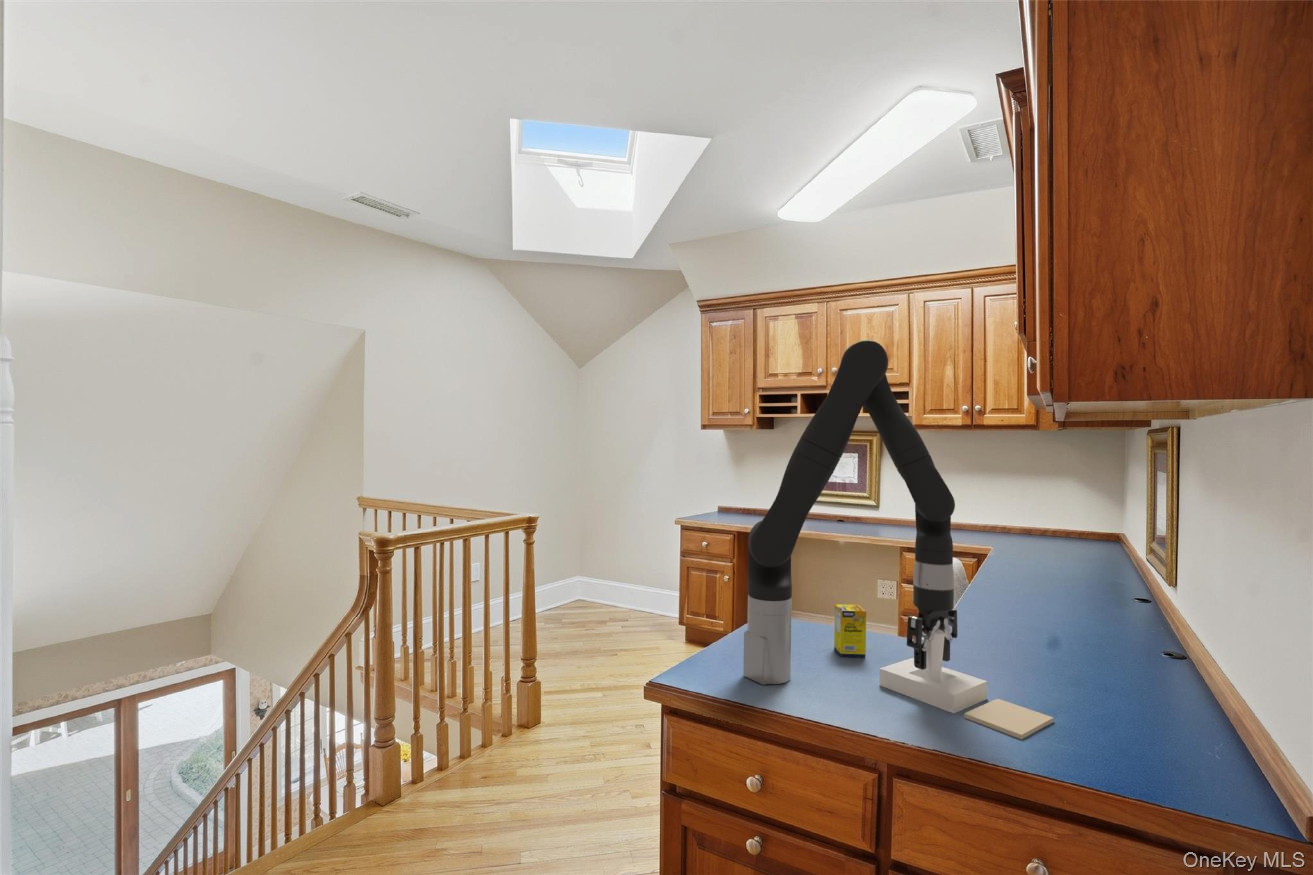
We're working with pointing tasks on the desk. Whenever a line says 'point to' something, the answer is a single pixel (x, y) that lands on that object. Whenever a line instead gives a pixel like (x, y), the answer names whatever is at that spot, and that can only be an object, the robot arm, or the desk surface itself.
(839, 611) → the supplement box
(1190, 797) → the desk surface
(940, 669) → the perfume bottle
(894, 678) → the rectangular block
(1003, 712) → the mat
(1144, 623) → the desk surface
